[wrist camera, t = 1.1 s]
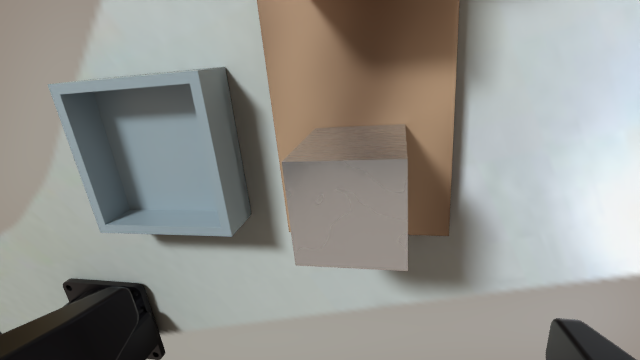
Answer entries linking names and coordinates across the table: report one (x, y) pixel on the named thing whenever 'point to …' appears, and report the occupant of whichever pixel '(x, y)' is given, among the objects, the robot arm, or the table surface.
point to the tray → (157, 152)
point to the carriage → (349, 197)
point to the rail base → (369, 83)
